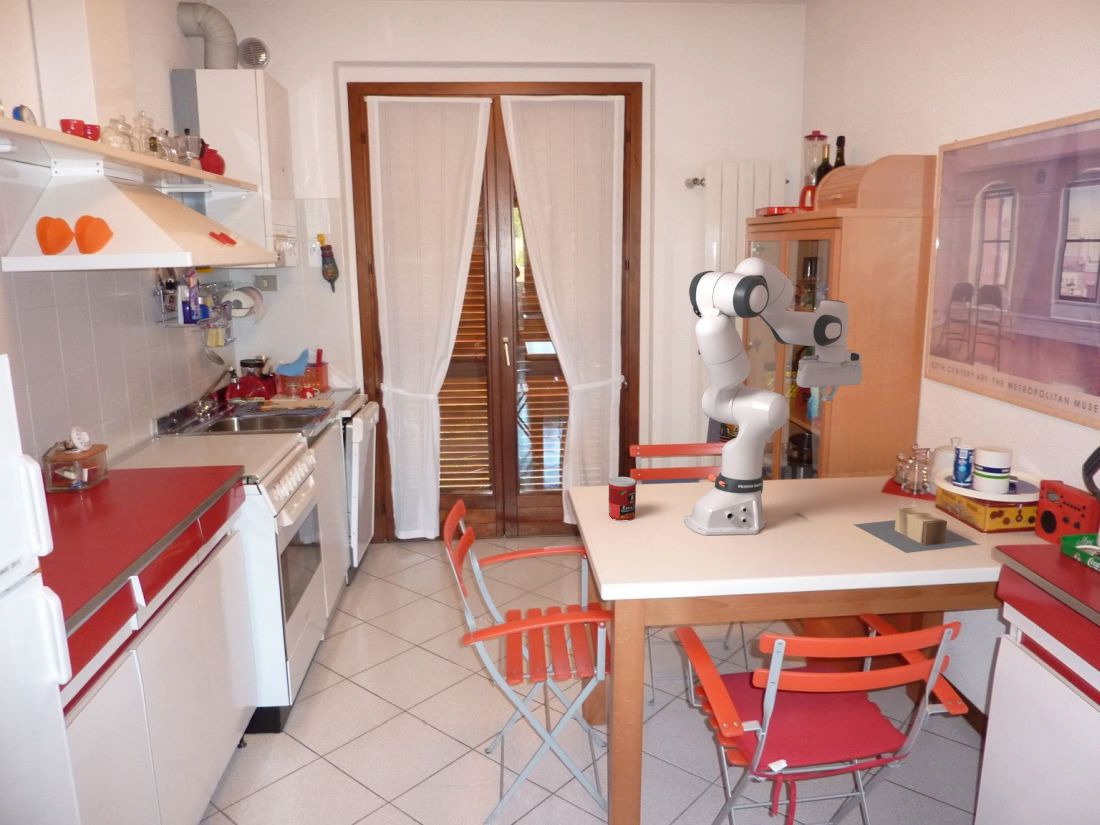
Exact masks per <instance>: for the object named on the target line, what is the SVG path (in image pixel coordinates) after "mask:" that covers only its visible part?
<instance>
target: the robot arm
mask: <svg viewBox="0 0 1100 825" xmlns="http://www.w3.org/2000/svg"><path fill="white" fill-rule="evenodd" d="M794 290H795V289H794V284H793V283H792V281H791V280H790V278H788V277H787V276H786V275H785V274H784V272H782V271H781V270H780V269H778V267H776V266H775V265H773V264H772V263H770V262H768V261H767V260H765V259H763V258H760V257H758V256H750V257H747V258H745V259H743V260H741V261H740V262H739V263H738V264H737V266H736V268H735V270H734V272H733V271H714V270H706V271H702V272H699V273H697V274H695V275H694V277H693V278H692V280H691V281H690V283H689V289H688V294H689V295H688V296H689V301H690V303H691V304H690V305H691V306H692V311H693V312H694V314H695V315H696V316H697V317H699V319H698V320H697V322H696V324H695V329H694V332H695V339H696V343H697V347H698V350H699V354H700V357H701V359H702V361H703V364H704V367H705V369H706V372H707V375H708V377H709V381H710V385H709V386H708V387H707V388H706V390H704V393H703V394H702V397H701V409H702V412H703V414H704V415H705V416H706V417H708V418H710V419H712V420H714V421H717V422H718V423H722V424H727V425H733V426H738V432H737V433H738V434H737V436H736V437H735V438H734V437H733V438H732V439H730V440H728V441H727V442H725V444H724V445H723V447H722V449H721V463H720V464H721V467H720V473H719V474H718V476H717V475H715V474H714V473H710V474H709V475H708V477H707V479H708V480H709V481H710V482H711V483H714V486H713V487H712V488H711V489H710V490H708V491H707V492H705V493H704V494H702V496H700V497H699V498H697V500H695V502H694V504H693V508H692V513H691V515H686V516H684V519H683V523H684V525H685V526H686V527H687V528H688V529H690V530H691V531H693V532H695V533H698V534H701V535H703V536H716V535H717V536H718V535H719V536H722V535H726V536H727V535H728V536H729V535H749V534H750V535H756V534H758V533H759V532H760V530H761V529H763V528H764V527H766V521H765V517H764V513H763V512H764V511H763V503H762V502H763V501H762V495H763V494H762V493H763V490H764V476H763V474H762V473H763V460H764V453H765V452H764V451H765V448H766V444H767V443H768V441H769V439H770V438H771V436H772V435H773V434H774V433H775V432H777V430H780V429H781V428H782V427H783V426H785V424H786V422H787V421H788V418H789V416H790V406H789V402H788V400H787V398H786V397H785V396H784V395H782V394H780V393H778V392H776V391H773V390H769V389H766V388H759V387H752V386H751V387H750V386H747V385H745V383H743V382H745V381H746V379H747V378H748V377H749V375H750V372H751V367H752V365H751V362H750V359H749V357H748V353H747V351H746V348H745V346H744V343H743V340H742V338H741V335H740V334H739V332H738V330H737V327H736V318H741V319H752V318H757V317H759V318H760V319H761V320H762V321H763V322H764V323H765V324H766V325H767V326H768V328H769V329H770V331H771V332H772V335H773V337H774V339H775V340H776V341H777V342H778V343H779V344H781V345H797V346H806V347H807V346H810V347H815V349H814V350H815V351H814V352H815V354H814V355H810V356H809V355H804V356H803V357H801V358H800V359H799V361H798V369H797V375H796V384H797V386H798V387H800V388H802V389H803V388H804V389H805V388H807V389H808V388H818V389H819V392H820V393H821V400H822V402H834V400H835V396H836V394H837V392H838V390H839V387H843V386H859V385H861V383H862V382H863V372H864V371H863V363H862V362H861V361H862V359H863V354H861V353H859V352H856V351H853V350H851V349H848V340H847V336H848V333H849V328H850V327H849V323H850V322H849V321H850V315H849V306H848V304H847V303H846V302H845V301H843V300H837V299H824V300H821V301H820V303H819V307H818V308H817V309H816V310H813V312H809V311H797V310H796V311H795V310H789V309H787V308H788V307H790V304H791V303H792V300H793V299H794V293H795V292H794ZM828 388H829V389H830V392H829V393H827V391H828Z"/></svg>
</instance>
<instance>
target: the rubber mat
mask: <svg viewBox="0 0 1100 825" xmlns="http://www.w3.org/2000/svg"><path fill="white" fill-rule="evenodd" d="M852 525H853V526H855V527H857V528H859V529H861V530H862V531H865V532H867V533H868V534H870V535H872V536H873V537H875V538H878V539H879V540H881V541H883V542H885V543H887V544H889V545H890V546H892V547H894V548H896V549H898V550H900V551H902V552H904V553H906V554H909V553H910V554H911V553H918V552H926V551H935V550H944V549H945V550H946V549H952V548H954V549H955V548H963V547H969V546H977V545H979V546H980V543H977V542H975V541H973V540H971V539H968V538H967V537H964V536H962V535H960V534H958V533H955V532H953V531H952V530H949V529H947V528H946V538H945V543H944V544H935V545H926V546H925V545H923V544H921V543H919V542H917V541H915V540H913V539H911V538H909V537H907V536H905V535H903V534H901V533H899V532H897V531H895V519H893V520H886V521H884V520H883V521H874V522H865V523H856V524H852Z"/></svg>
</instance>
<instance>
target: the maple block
mask: <svg viewBox="0 0 1100 825" xmlns="http://www.w3.org/2000/svg"><path fill="white" fill-rule="evenodd" d="M894 520H895V531H897V532H899V533H901V534H903V535H905V536H907V537H909V538H911V539H913V540H915V541H917V542H919V543H921V544H923V545H925V546H926V545H935V544H944V543H945V538H946V529H947V528H948V527H947V525H948V521H947V520H945V519H942V518H941V517H939V516H936V515H934V514H931V513H929V512H928V511H925V510H922V509H920V508H919V507H916V506H913V507H906V508H905V507H902V508H896V509H895V519H894Z"/></svg>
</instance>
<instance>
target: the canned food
mask: <svg viewBox="0 0 1100 825" xmlns="http://www.w3.org/2000/svg"><path fill="white" fill-rule="evenodd" d="M636 482H637V481H636V479H634V478H631V477H629V476H628V477H627V476H615V477H614V476H613V477H611V478H610V479H609V480H608V516H610V517H611V518H612V520H613V519H616V520H615V521H617V520H629V521H631V520H630V519H632V520H634V519H635V516H636V506H637V505H636V499H637V498H636V496H637V494H636V493H637V483H636ZM610 517H609V518H610ZM611 518H610V519H611ZM633 518H634V519H633Z"/></svg>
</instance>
